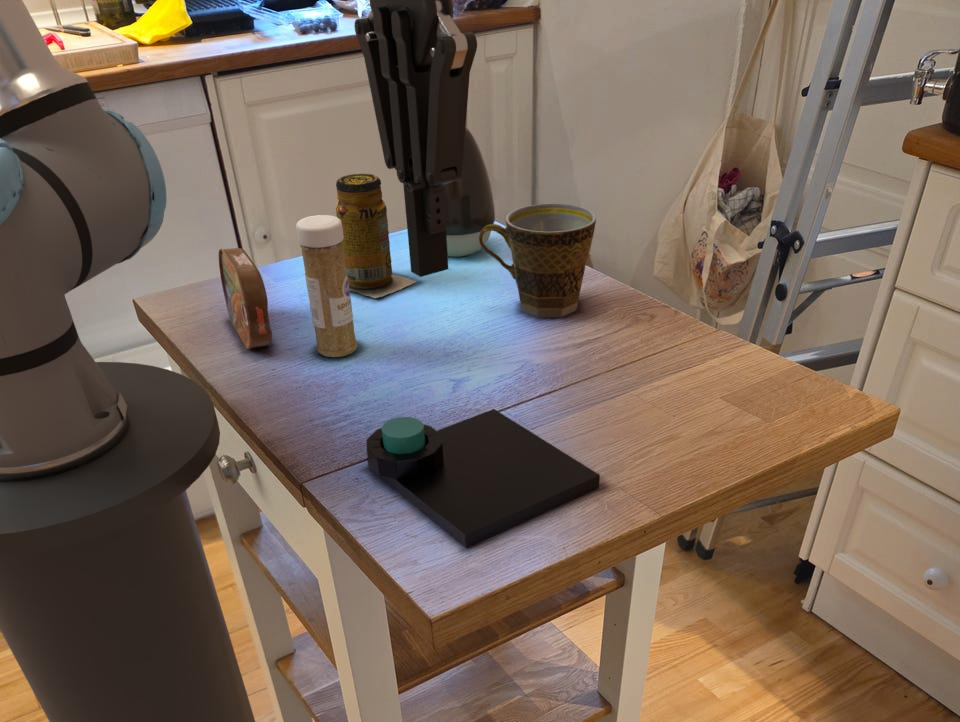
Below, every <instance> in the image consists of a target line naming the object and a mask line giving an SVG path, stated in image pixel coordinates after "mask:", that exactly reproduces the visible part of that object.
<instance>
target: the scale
mask: <svg viewBox="0 0 960 722" xmlns="http://www.w3.org/2000/svg"><path fill="white" fill-rule="evenodd" d="M423 425H424V433H425V446H424V448H423V449H421V450H419V451H416V452H414V453H409V454H396V453H391V452H387V451H386V450H385V448H384V444H383V436H382V427H380V428H378V429H376V430H374V432H372V433H371V434H370V435H369V436H368V437H367V439H366V441H365V442H366V455H367V457H366V458H367V467H368V470H369V471H371V473H373V474H374V475H375V476H377V478H379V479H380V480H381V481H383V482H384V483H386V485H388V486H389V487H390V488H391V489H393V490H394V491H395V492H396V493H398V495H400V496H402V497H403V498H404V499H406V501H408V502H409V504H411V505H412V506H414V507H415V508H416V509H417V510H419V511H420V512H421V513H422V514H423V515H424V516H426V517H427V518H428V519H429V520H431V521H432V522H433V523H434V524H436V525H437V526H438V527H439V528H441V529H442V530H443V531H444V532H445V533H446V534H448V535H449V536H451V537H452V539H454V540H455V541H457V542H458V543H459V544H460V545H461V546H463V547H464V548H469V547H471V546H473V545H475V544H478V543H480V542H482V541H485V540H486V539H488V538H491V537H493V536H496V535H498V534H500V533H502V532H504V531H506V530H508V529H510V528H513V527H515V526H517V525H519V524H522V523H524V522H526V521H528V520H530V519H532V518H534V517H537V516H539V515H541V514H543V513H546V512H547V511H550V510H552V509H554V508H556V507H558V506H561V505H563V504H565V503H567V502H569V501H571V500H574V499H576V498H578V497H581V496H583V495H584V494H587V493H589V492H591V491H594V490H596V489H598V488H600V480H601V475H600V474H599V473H597V472H596V471H595V470H593V469H592V468H590V467H588V466H586V465H585V464H584V463H581V462H580V461H578V460H576V459H575V458H573V457H571V456H570V455H569V454H567V453H565V452H564V451H562V450H561V449H559V448H557V446H554V445H553V444H551V443H550V442H548V441H546V440H544V439H543V438H541V437H540V436H538V435H537V434H535V433H534V432H532V431H530V430H528V428H525V427H524V426H522V425H520V424H519V423H517V422H516V421H514V420H513V419H512V418H510V417H508V416H507V415H505V414H503V413H502V412H500V411H498V410H497V409H495V408H492V409H489V410H487V411H484V412H481V413H479V414H477V415H474V416H471V417H468V418H466V419H463V420H461V421H458V422H455V423H453V424H451V425H448V426H445V427H443V428H440V429H437V430H436V429H435V428H434V427H432V426H430V425H427V424H423Z"/></svg>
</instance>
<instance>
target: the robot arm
mask: <svg viewBox="0 0 960 722" xmlns="http://www.w3.org/2000/svg"><path fill="white" fill-rule="evenodd" d="M369 6H370V12H369V13H368V16H367V17H362V18H356V19H355V20H354V32H355V35H356V39H357V41H358V44H359V47H360V50H361V53H362V56H363V59H364V65H365V68H366V74H367V79H368V84H369V89H370V94H371V99H372V104H373V109H374V114H375V120H376V124H377V129H378V134H379V140H380V144H381V150H382V155H383V159H384V160H383V161H384V164H385V166H386V168H387V169H389V170H392V169H395V171H396V177H397V180H398V181H399V182H400V183H401V184H402V186H403V195H404V208H405V217H406V230H407V240H408V251H409V253H408V254H409V262H410V263H409V264H410V273H412V274H414V275H416V276H418V277H419V278H422V277H425V276H429V275H433V274H436V273H439V272H444V271H448V270H449V256H448V253H447V236H446V225H447V223H446V212H445V211H446V206H445V186H446V184H448V183H450V182H453V181H457V180H460V179H461V177H462V167H463V154H464V141H465V128H466V127H467V113H468V101H469V99H468V98H469V90H470V89H469V87H470V74H471V71H472V70H471V69H472V67H473V63H474V61H475V57H476V53H477V49H478V40H477V37H476V34H475V33H474V32H472V31H470V32H464V33H463V32H461V30H460V28H459V27H458V26H457V23H456V22H455V20H453V19H454V14H455V13H454V12H455V11H454V10H455V9H454V2H453V0H369ZM167 200H168V199H167V185H166V180H165V176H164V172H163V169H162V165H161V163H160V159H159V158H158V156H157V153H156V152H155V150H154V148H153V146H152V144H151V143H150V141H149V140H148V138H147V137H146V136H145V135H144V133H143V132H142V130H141V129H140V128H138V126H137V125H136V124H134V123H133V121H127V120H125V118H124V116H123V115H122V114H121V113H119V112H116V111H113V110H110V109H105V108H103V107H102V105H101V104H100V102H99V100H98V98H97V97H96V94H95V93H94V91H93V89H92V87H91V85H90V84H89V81H88V80H87V78H86V77H84V76H82V75H80V74H78V73H76V72H73V71H72V70H70V69H69V68H68V69H67V68H66V67H64V66H62V65H61V64H59V63H58V61H57V60H56V58H55V57H54V55H53V53H52V51H51V49H50V47H49V46H48V44H47V42H46V41H45V39H44V37H43V35H42V33H41V31H40V30H39V28H38V26H37V24H36V22H35V21H34V18H33V17H32V14H31V13H30V12H29V9H28V8H27V6H26V4H25V3H24V1H23V0H0V482H13V481H26V480H33V479H39V478H45V477H49V476H53V475H57V474H61V473H64V472H67V471H70V470H73V469H76V468H78V467H81V466H83V465H85V464H88V463H90V462H92V461H94V460H95V459H97V458H99V457H101V456H102V455H104V454H105V453H107V452H108V451H110V450H111V449H112V448H114V447H115V446H116V445H117V444H118V443H119V442H120V441H121V440H122V439H123V437H124V436H125V434H126V433H127V430H128V428H129V417H128V414H127V405H126V403H125V401H124V399H123V397H122V395H121V393H120V394H119V393H118V391H117V390H116V389H115V387H114V386H113V385H112V383H111V382H110V381H109V379H108V378H107V377H106V375H105V374H104V373H103V371H102V370H101V369H100V367H99V366H98V365H97V363H96V362H97V361H96V360H95V359H94V358H93V356H92V355H91V353H90V352H89V351H88V350H87V348H86V347H85V346H84V344H83V342H82V341H81V338H80V336H79V332H78V330H77V327H76V325H75V322H74V319H73V316H72V313H71V310H70V306H69V303H68V301H67V298H66V295H67V294H68V293H70V292H71V291H73V290H75V289H76V288H78V287H79V286H82V285H83V284H85V283H86V282H88V281H90V280H92V279H93V278H96V277H97V276H98V275H100V274H102V273H103V272H105V271H108V270H109V269H110V268H112V267H114V266H116V265H117V264H121V263H124V262H125V261H128V260H131V259H132V258H133V257H135V256H136V255H137V254H138V253H139V252H140V250H141V249H142V248H144V247H145V246H146V245H148V244H149V243H150V242H152V241H153V239H155V237H156V236H157V234H158V233H159V231H160V229H161V227H162V225H163V222H164V217H165V211H166V208H167Z"/></svg>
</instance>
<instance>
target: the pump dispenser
mask: <svg viewBox="0 0 960 722" xmlns="http://www.w3.org/2000/svg"><path fill="white" fill-rule="evenodd" d="M493 196H494V195H493V190H492V185H491V180H490V177H489V172H488V169H487V165H486V163H485V159H484V157H483V153H482V151H481V149H480V147H479V144H478V142H477V140H476V138H475V136H474V135H473V133H472V132H471V130H470V129H469V128H468V127H467V126H466V128H465V141H464V154H463V167H462V177H461V179H460V180H457V181H453V182H450V183H448V184H446V186H445V206H446V211H445V212H446V223H447V225H446V236H447V253H448V257H453V258H461V257H467V256H470V255H473V254H475V253H477V252H479V251H480V250H481V249H483V248H482V247H481V245H480V243H479V235H480V232H481V230H482V229H483V228H484V227H485V226H487V225H490V224H495V222H496V214H495V213H496V212H495V204H494V197H493ZM491 233H492V231H487V232H485V233H484V234H483V237H482V241H483V244H484V245H485V246H486V244H487V242H488V241H489V238H490V236H491Z"/></svg>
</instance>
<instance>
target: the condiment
mask: <svg viewBox="0 0 960 722" xmlns="http://www.w3.org/2000/svg"><path fill="white" fill-rule="evenodd" d="M381 185H382V180H381V179H380V178H379V177H378V176H377V175H375V174H371V173H351V174H346V175H342V176H341V177H339V178H338V179H337V180H336V183H335V187H336V198H337V200H338V202H337V203H336V207H335V214H336V217H337V218H339V219H340V220H341V223H342V229H343V237H344V238H343V240H342V241H343V250H344V259H345V265H346V273H347V277H348V283H349V290H350V292H352V293H353V292H354V293H357V294H360V295H362V296H367V297H370V298H373V299H377V298H382V297H384V296H387V295H389V294H392V293H395V292H397V291H401V290H402V289H404V288H406V287H410V286H411V285H413V284H416V283H418V281H417V280H414V279H411V278H408V277H406V276H405V277H404V276H401V275H398V274H393V267H392V266H393V265H392V256H391V245H390V244H391V243H390V232H389V221H388V211H387V204H386V202H385V201H384V199H383V192H382V191H383V190H382V186H381Z"/></svg>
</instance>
